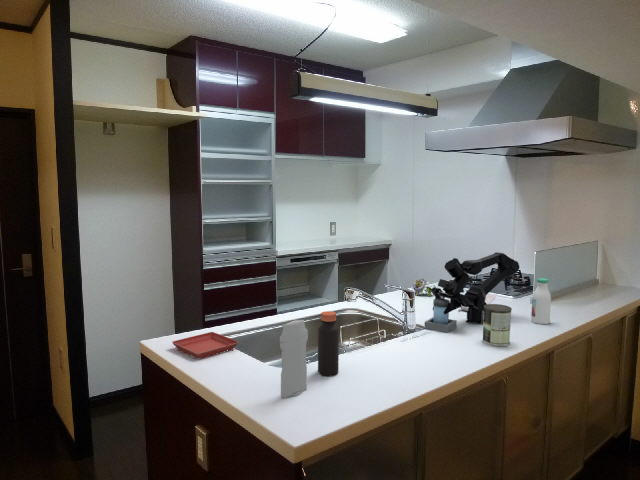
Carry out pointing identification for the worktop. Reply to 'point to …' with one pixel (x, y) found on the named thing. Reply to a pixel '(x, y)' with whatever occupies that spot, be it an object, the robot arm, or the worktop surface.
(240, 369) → the worktop surface
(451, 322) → the cartridge housing
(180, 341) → the plant saucer
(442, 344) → the worktop surface
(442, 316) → the blue-grey upright cylinder
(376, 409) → the worktop surface
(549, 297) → the milk bottle
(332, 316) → the vinegar
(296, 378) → the tall pale column
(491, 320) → the coffee can
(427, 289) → the passion flower
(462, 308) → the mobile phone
